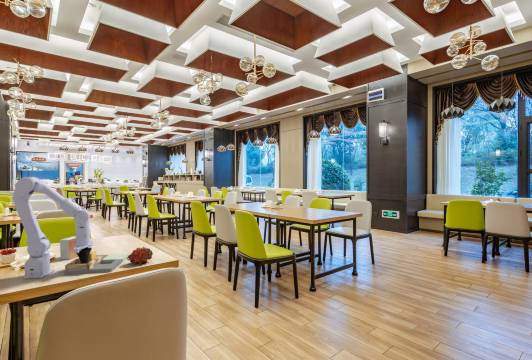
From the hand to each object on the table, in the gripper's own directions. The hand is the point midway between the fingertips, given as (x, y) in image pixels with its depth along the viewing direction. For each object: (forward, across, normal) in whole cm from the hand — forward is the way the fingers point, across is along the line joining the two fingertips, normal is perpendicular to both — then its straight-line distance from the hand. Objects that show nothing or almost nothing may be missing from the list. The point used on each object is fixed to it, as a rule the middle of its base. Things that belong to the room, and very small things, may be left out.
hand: (84, 263), depth 139 cm
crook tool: (+2, +17, -18) cm, 25 cm away
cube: (+1, +5, 0) cm, 5 cm away
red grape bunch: (+3, +5, -24) cm, 25 cm away
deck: (+2, +6, -4) cm, 8 cm away
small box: (+3, +22, +17) cm, 27 cm away
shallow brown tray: (+1, +1, 0) cm, 1 cm away
